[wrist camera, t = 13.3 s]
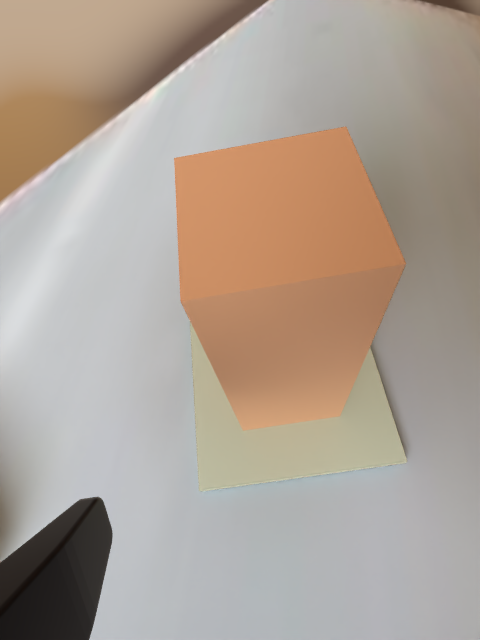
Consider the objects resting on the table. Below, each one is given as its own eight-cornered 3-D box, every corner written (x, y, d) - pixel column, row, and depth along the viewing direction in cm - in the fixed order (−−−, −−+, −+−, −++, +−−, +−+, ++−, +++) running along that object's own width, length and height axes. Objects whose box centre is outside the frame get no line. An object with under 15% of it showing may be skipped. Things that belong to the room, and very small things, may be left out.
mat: (350, 293, 18) (351, 288, 18) (404, 463, 14) (407, 461, 14) (191, 318, 19) (189, 314, 18) (201, 491, 15) (199, 490, 14)
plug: (318, 330, 17) (346, 126, 8) (339, 416, 15) (406, 264, 6) (232, 344, 17) (174, 157, 9) (243, 430, 15) (180, 301, 7)
